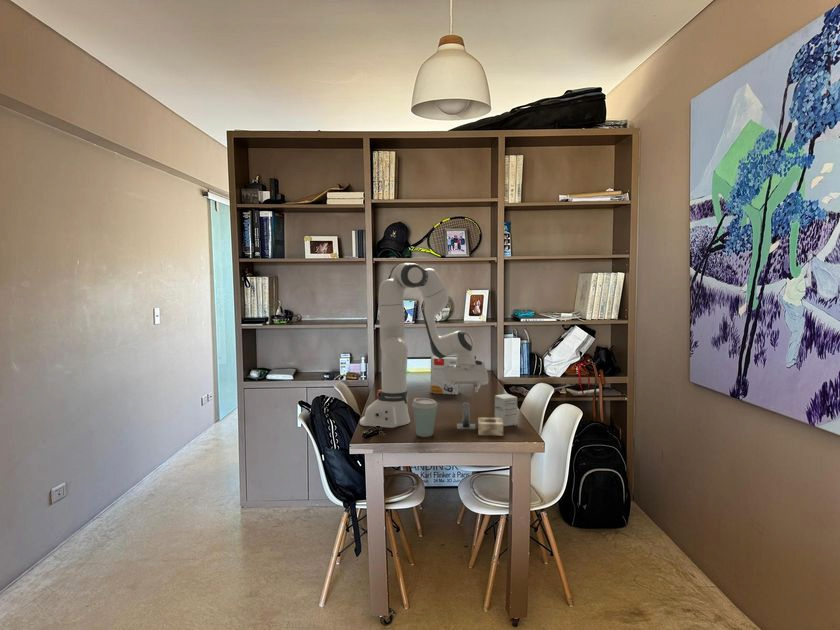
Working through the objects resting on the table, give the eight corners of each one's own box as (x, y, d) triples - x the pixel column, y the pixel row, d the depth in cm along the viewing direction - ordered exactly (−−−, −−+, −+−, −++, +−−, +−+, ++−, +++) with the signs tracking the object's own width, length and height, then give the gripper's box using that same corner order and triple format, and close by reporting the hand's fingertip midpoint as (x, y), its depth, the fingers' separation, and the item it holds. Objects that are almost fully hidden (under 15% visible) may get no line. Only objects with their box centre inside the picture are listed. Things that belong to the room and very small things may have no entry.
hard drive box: (430, 393, 295) (430, 357, 293) (433, 390, 302) (433, 355, 301) (457, 395, 291) (457, 358, 290) (460, 392, 299) (460, 356, 297)
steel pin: (462, 427, 229) (462, 404, 228) (462, 425, 232) (462, 402, 231) (469, 427, 229) (469, 404, 228) (469, 425, 232) (469, 402, 231)
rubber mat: (456, 429, 227) (456, 428, 227) (456, 424, 235) (456, 423, 235) (475, 430, 226) (475, 429, 226) (475, 424, 234) (475, 423, 234)
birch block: (478, 435, 218) (478, 423, 218) (477, 428, 228) (477, 417, 228) (503, 436, 217) (503, 424, 217) (501, 429, 227) (501, 417, 227)
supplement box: (493, 422, 237) (494, 394, 236) (508, 421, 240) (508, 393, 239) (503, 427, 230) (503, 398, 229) (517, 425, 233) (517, 396, 232)
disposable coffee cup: (436, 431, 224) (436, 396, 223) (438, 439, 214) (438, 402, 212) (411, 431, 224) (411, 396, 223) (412, 439, 213) (411, 403, 212)
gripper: (443, 361, 246) (442, 387, 237) (487, 362, 245) (489, 387, 236) (443, 369, 251) (443, 394, 242) (487, 369, 249) (488, 395, 241)
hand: (466, 391), depth 239 cm, fingers open, 8 cm apart
